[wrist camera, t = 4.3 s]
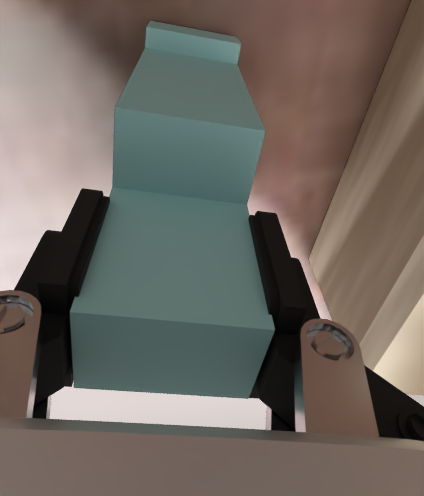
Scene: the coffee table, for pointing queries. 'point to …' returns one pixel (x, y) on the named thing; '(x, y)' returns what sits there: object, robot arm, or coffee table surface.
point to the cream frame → (383, 222)
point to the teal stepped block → (177, 230)
